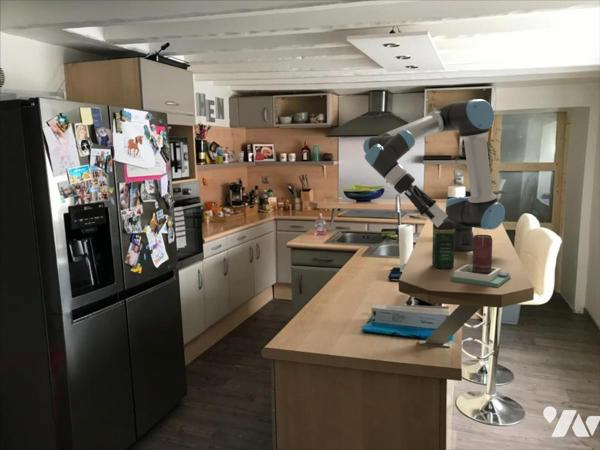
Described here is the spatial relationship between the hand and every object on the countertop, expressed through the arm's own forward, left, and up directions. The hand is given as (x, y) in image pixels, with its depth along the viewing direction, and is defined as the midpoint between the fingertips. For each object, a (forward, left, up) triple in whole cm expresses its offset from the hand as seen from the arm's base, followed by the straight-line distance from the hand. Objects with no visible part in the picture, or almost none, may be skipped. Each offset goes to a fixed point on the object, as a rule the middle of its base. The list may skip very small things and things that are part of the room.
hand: (443, 221), depth 174 cm
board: (-1, +13, -19) cm, 24 cm away
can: (-2, +13, -18) cm, 23 cm away
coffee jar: (-12, -5, -20) cm, 24 cm away
